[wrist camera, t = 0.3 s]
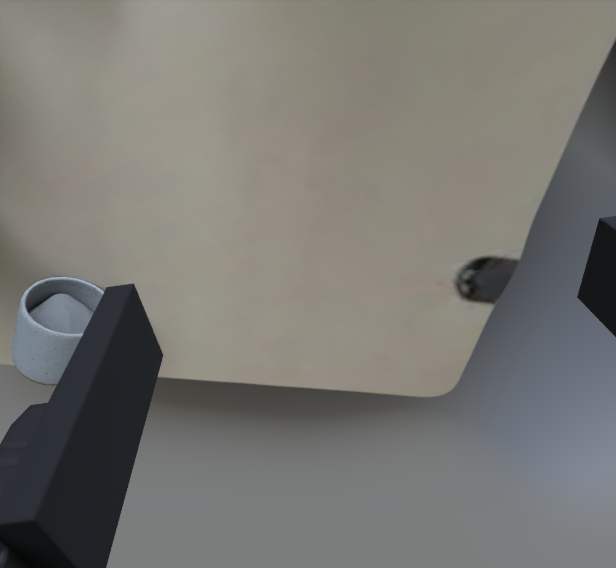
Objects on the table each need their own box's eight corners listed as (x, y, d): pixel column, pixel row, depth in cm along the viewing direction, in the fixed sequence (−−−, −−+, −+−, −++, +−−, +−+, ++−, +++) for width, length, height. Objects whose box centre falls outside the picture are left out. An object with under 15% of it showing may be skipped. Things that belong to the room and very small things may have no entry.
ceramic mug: (29, 327, 46) (-10, 381, 40) (44, 265, 43) (4, 314, 36) (132, 358, 50) (111, 413, 43) (154, 303, 46) (136, 354, 40)
